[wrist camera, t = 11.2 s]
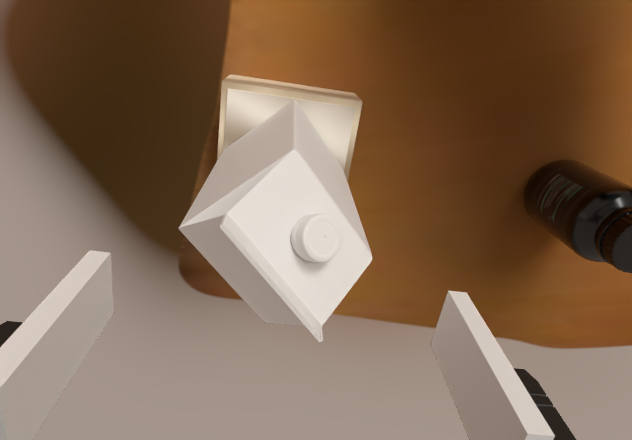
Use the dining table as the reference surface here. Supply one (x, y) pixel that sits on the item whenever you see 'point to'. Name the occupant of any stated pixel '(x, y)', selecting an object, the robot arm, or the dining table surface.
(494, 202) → the dining table surface
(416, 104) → the dining table surface
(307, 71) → the dining table surface
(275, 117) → the milk carton
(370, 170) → the dining table surface
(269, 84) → the pedestal
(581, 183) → the supplement bottle
